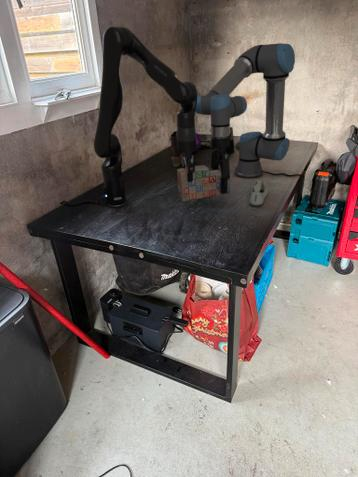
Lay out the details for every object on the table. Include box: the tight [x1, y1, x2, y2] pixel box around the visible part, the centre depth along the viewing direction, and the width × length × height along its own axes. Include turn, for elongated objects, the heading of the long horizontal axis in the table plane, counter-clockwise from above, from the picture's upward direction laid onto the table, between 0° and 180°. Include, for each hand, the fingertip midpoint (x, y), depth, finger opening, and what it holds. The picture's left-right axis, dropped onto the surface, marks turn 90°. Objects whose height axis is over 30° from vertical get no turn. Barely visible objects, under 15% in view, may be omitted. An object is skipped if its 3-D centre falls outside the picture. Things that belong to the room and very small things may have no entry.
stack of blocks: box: [176, 164, 231, 202], centre depth 140 cm, size 21×6×12 cm, turn 105°
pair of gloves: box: [199, 134, 212, 149], centre depth 251 cm, size 30×26×5 cm
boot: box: [169, 130, 181, 168], centre depth 211 cm, size 9×24×20 cm, turn 168°
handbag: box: [210, 126, 235, 157], centre depth 218 cm, size 21×9×25 cm, turn 148°
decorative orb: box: [192, 132, 202, 154], centre depth 230 cm, size 15×15×15 cm
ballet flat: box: [249, 179, 269, 207], centre depth 158 cm, size 8×24×8 cm, turn 163°
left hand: (187, 178), depth 137 cm, fingers closed on stack of blocks, 6 cm apart
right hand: (219, 189), depth 143 cm, fingers open, 9 cm apart
